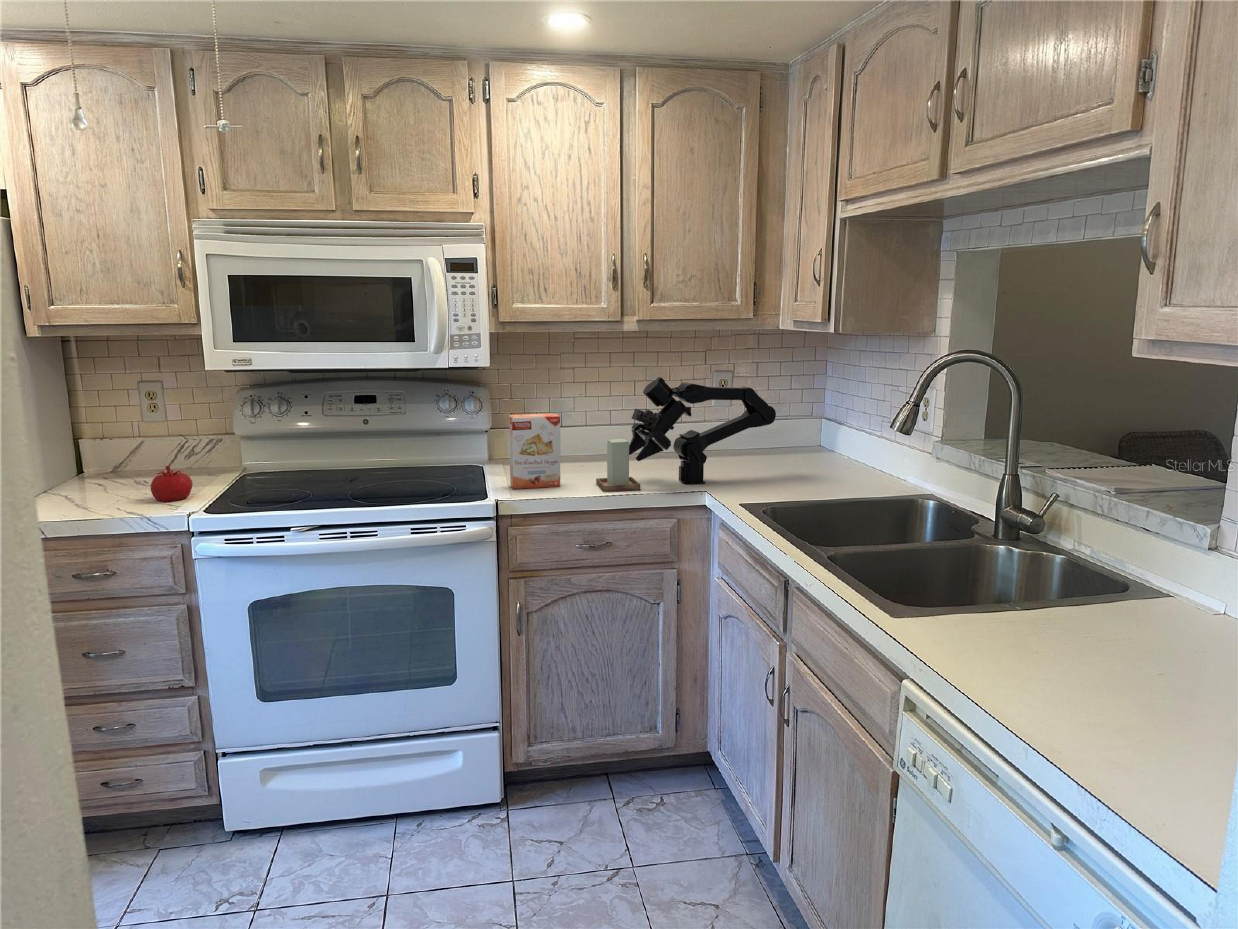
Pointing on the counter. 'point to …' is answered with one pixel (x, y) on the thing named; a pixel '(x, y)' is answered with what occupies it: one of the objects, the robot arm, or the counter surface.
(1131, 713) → the counter surface
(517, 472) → the cracker box
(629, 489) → the walnut tray
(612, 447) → the sage wooden block
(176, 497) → the red tomato
